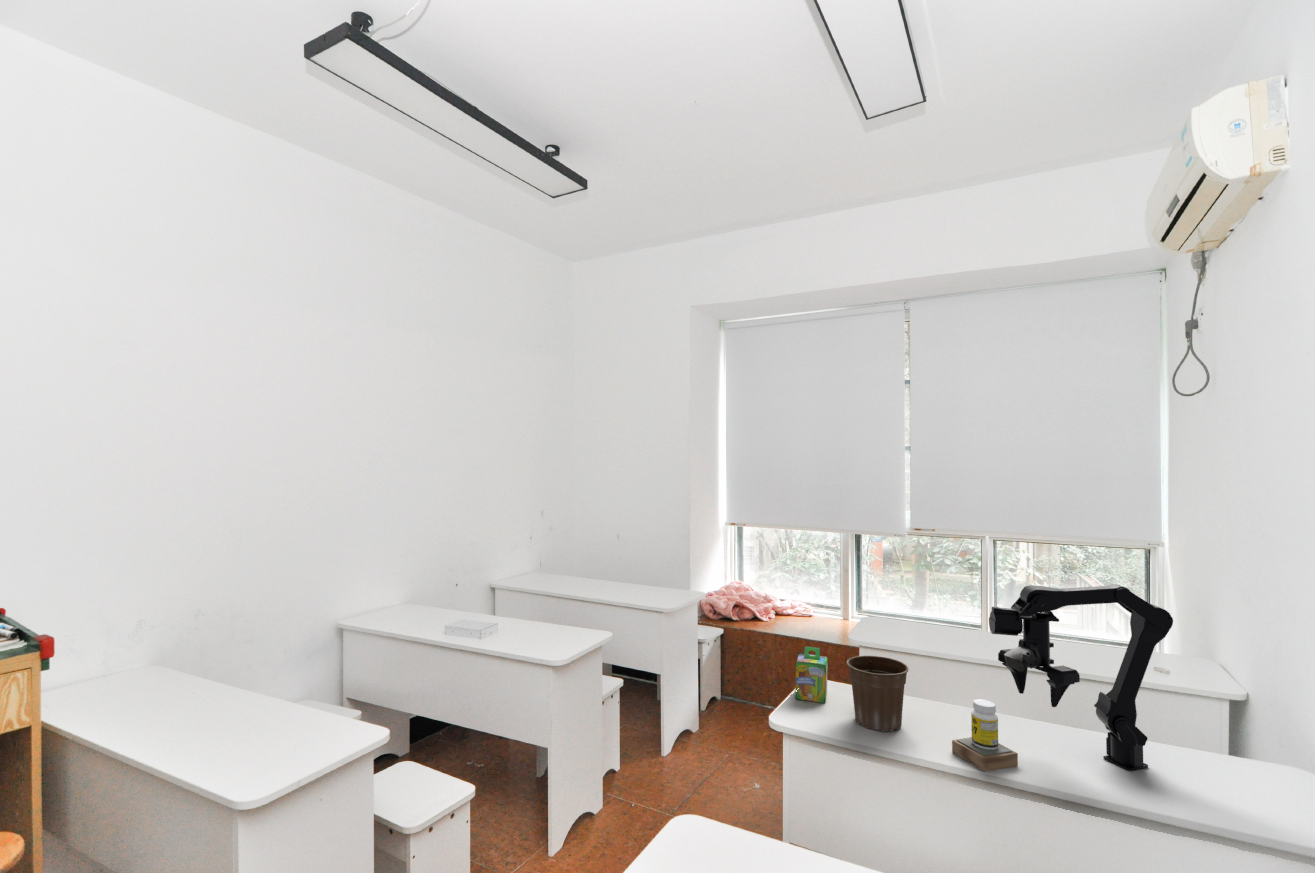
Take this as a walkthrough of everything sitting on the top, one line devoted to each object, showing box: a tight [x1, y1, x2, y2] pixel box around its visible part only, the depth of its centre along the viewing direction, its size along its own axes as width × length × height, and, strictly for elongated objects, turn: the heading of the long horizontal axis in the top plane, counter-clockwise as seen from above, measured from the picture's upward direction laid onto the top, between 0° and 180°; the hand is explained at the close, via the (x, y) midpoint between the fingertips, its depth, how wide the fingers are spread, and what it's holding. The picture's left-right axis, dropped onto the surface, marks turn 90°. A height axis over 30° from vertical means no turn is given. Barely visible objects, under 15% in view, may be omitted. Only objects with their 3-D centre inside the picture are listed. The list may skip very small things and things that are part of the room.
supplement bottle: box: [970, 698, 999, 750], centre depth 149 cm, size 6×6×10 cm
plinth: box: [951, 736, 1019, 773], centre depth 149 cm, size 10×10×3 cm
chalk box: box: [794, 646, 829, 704], centre depth 188 cm, size 9×9×15 cm
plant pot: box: [846, 655, 909, 732], centre depth 169 cm, size 16×16×16 cm
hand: (1037, 699), depth 153 cm, fingers open, 9 cm apart
